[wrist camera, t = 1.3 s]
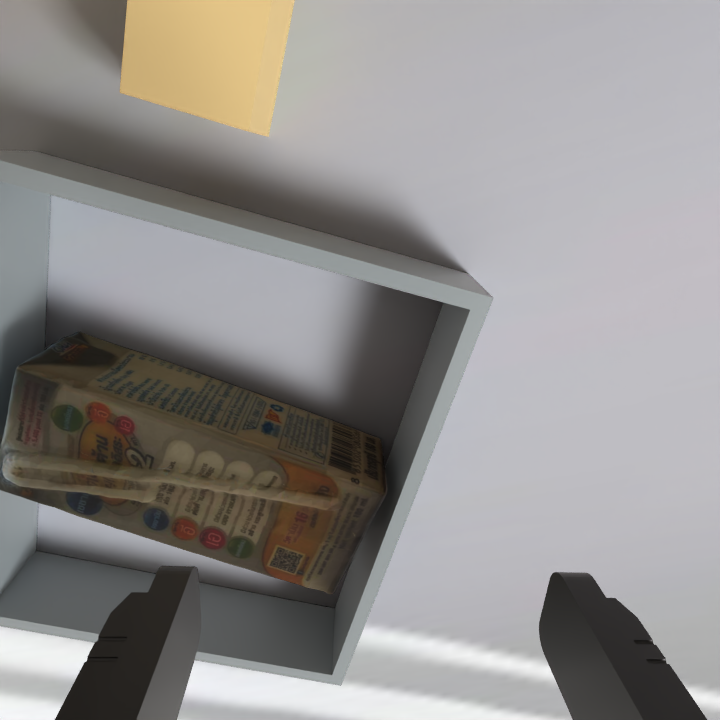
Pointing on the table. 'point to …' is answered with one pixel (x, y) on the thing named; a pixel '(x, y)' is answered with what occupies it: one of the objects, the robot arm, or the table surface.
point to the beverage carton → (190, 461)
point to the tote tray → (218, 604)
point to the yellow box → (207, 57)
